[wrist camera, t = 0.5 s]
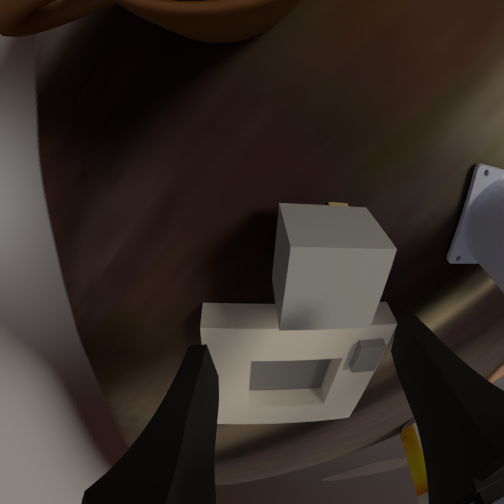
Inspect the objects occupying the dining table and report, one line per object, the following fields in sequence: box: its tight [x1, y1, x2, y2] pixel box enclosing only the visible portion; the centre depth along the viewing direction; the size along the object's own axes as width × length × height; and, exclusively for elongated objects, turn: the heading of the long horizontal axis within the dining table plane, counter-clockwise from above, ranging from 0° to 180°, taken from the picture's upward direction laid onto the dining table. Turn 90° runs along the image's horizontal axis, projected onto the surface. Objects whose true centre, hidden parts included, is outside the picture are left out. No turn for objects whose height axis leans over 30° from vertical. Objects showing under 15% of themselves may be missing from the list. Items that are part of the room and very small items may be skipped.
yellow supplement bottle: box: [400, 419, 429, 504], centre depth 32 cm, size 6×6×15 cm
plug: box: [272, 202, 397, 331], centre depth 18 cm, size 5×5×6 cm
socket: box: [200, 302, 397, 424], centre depth 26 cm, size 14×14×3 cm
